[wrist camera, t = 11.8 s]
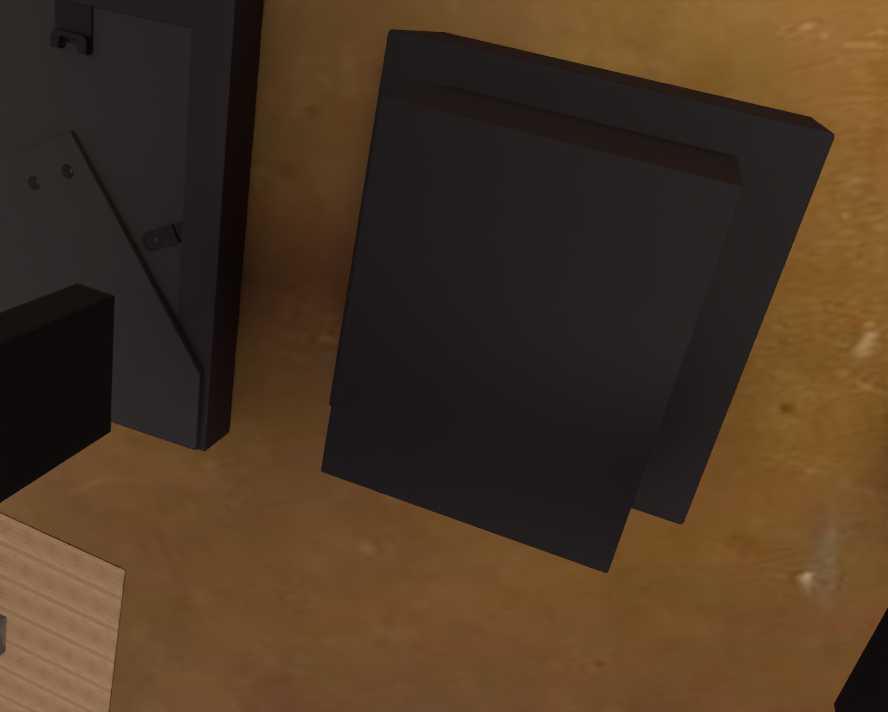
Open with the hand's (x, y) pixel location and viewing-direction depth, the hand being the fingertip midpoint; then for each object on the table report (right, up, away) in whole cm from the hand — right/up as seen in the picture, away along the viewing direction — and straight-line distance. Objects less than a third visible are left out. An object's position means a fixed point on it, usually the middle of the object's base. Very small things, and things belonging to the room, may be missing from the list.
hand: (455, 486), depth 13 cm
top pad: (+3, +4, +11) cm, 12 cm away
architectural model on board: (-29, -11, +33) cm, 46 cm away
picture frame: (-14, +9, +20) cm, 26 cm away
